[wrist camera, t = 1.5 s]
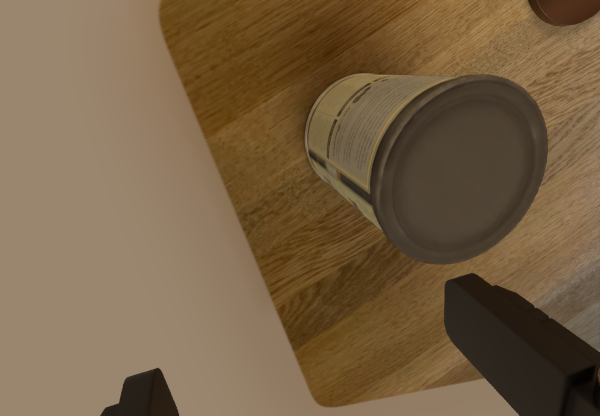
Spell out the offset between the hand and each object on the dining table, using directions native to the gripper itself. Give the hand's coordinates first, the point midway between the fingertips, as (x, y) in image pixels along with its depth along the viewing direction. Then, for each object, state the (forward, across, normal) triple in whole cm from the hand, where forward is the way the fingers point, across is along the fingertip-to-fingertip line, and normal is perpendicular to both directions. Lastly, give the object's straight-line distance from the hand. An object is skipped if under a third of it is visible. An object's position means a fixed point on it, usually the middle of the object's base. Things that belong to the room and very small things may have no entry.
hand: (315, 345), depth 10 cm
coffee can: (+22, -11, 0) cm, 25 cm away
